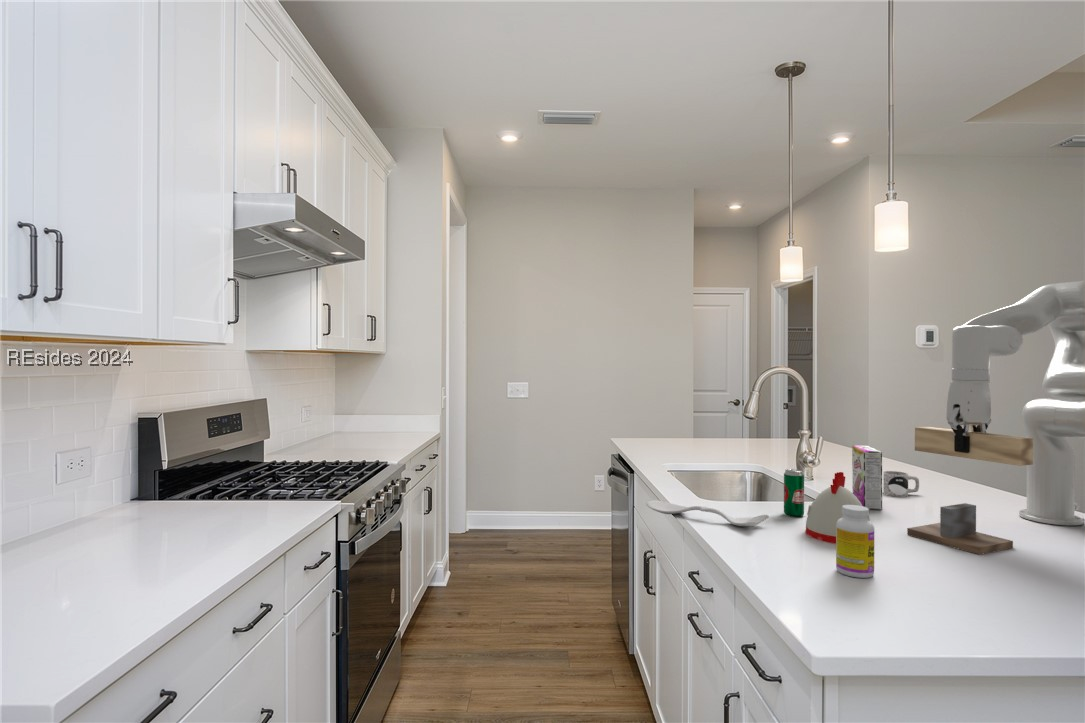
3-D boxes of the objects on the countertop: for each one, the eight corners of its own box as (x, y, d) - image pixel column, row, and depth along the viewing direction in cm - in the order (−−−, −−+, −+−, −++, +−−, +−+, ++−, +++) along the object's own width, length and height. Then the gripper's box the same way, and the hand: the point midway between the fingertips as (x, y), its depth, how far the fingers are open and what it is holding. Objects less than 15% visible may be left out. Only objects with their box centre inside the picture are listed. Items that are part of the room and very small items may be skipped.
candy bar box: (851, 500, 176) (851, 445, 176) (869, 500, 175) (869, 445, 175) (863, 509, 165) (863, 450, 165) (883, 510, 164) (883, 451, 164)
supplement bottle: (873, 581, 112) (873, 513, 112) (834, 574, 115) (834, 508, 115) (875, 571, 117) (875, 506, 117) (838, 564, 121) (838, 501, 121)
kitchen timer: (878, 535, 141) (878, 472, 141) (861, 549, 131) (861, 481, 131) (817, 524, 151) (817, 465, 151) (797, 536, 140) (797, 473, 140)
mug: (888, 496, 181) (888, 474, 181) (879, 491, 188) (879, 470, 188) (924, 497, 180) (924, 475, 180) (914, 492, 186) (914, 471, 186)
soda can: (795, 518, 156) (795, 472, 156) (779, 514, 160) (779, 469, 160) (808, 516, 158) (808, 471, 158) (792, 511, 163) (792, 468, 163)
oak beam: (927, 449, 156) (927, 426, 156) (1032, 464, 133) (1033, 437, 133) (914, 450, 154) (914, 427, 154) (1019, 465, 131) (1019, 438, 131)
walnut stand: (939, 528, 146) (940, 496, 146) (1012, 547, 132) (1013, 511, 132) (907, 534, 142) (907, 501, 142) (979, 554, 127) (979, 517, 127)
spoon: (756, 535, 142) (756, 521, 142) (640, 512, 163) (640, 500, 162) (769, 527, 149) (769, 513, 149) (656, 506, 169) (656, 494, 169)
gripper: (976, 376, 150) (975, 448, 150) (931, 376, 144) (930, 451, 144) (1009, 377, 143) (1008, 452, 143) (964, 377, 137) (963, 455, 137)
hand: (969, 450), depth 144 cm, fingers closed on oak beam, 5 cm apart
